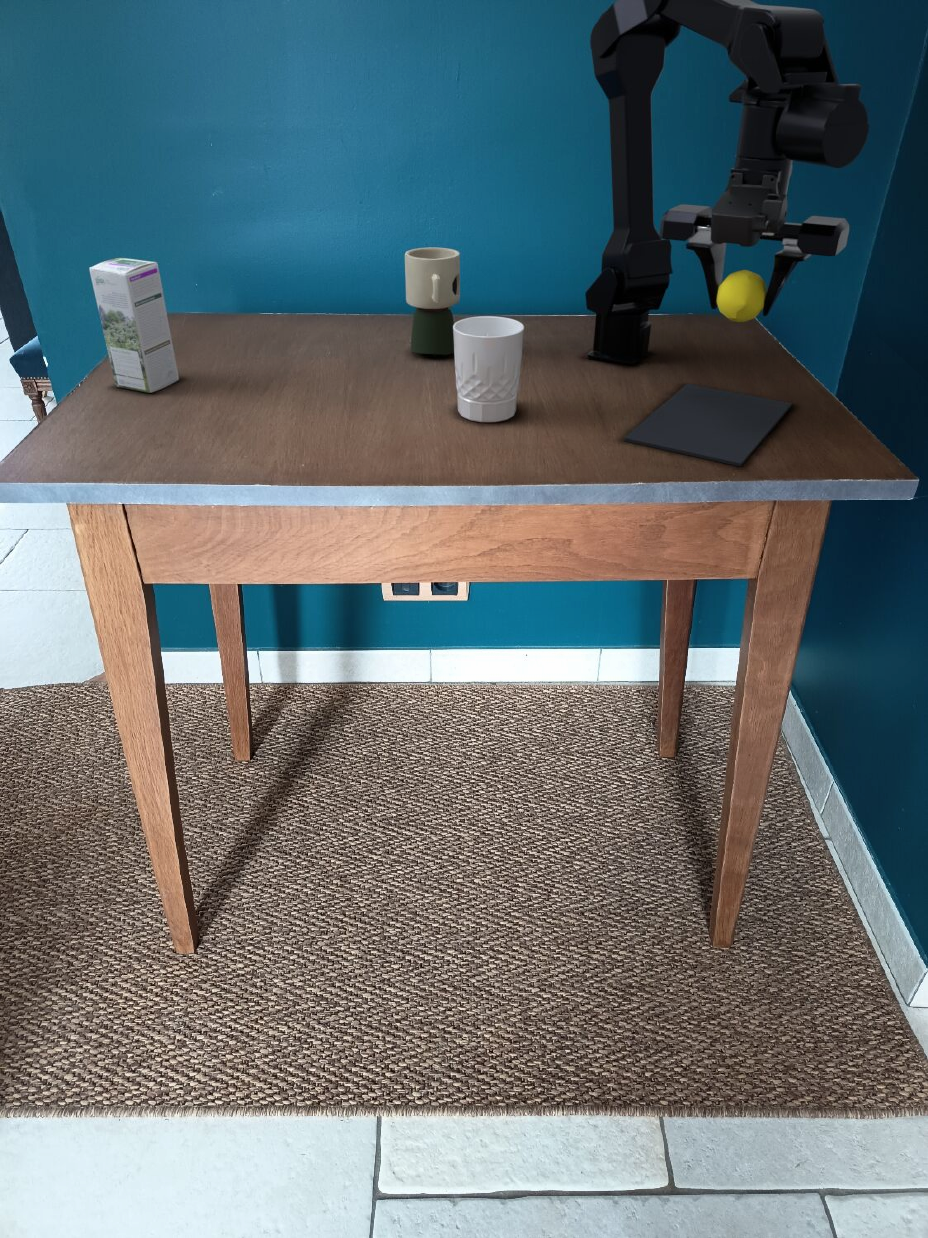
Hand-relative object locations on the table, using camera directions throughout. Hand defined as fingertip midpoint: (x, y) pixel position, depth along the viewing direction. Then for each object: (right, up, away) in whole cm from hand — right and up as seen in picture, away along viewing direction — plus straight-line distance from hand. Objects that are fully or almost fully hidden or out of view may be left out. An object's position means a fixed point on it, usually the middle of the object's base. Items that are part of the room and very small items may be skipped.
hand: (739, 311), depth 102 cm
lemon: (0, -1, +1) cm, 1 cm away
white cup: (-28, -10, +5) cm, 30 cm away
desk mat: (-3, -12, +2) cm, 12 cm away
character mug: (-35, +2, +23) cm, 42 cm away
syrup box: (-70, -5, +13) cm, 72 cm away
